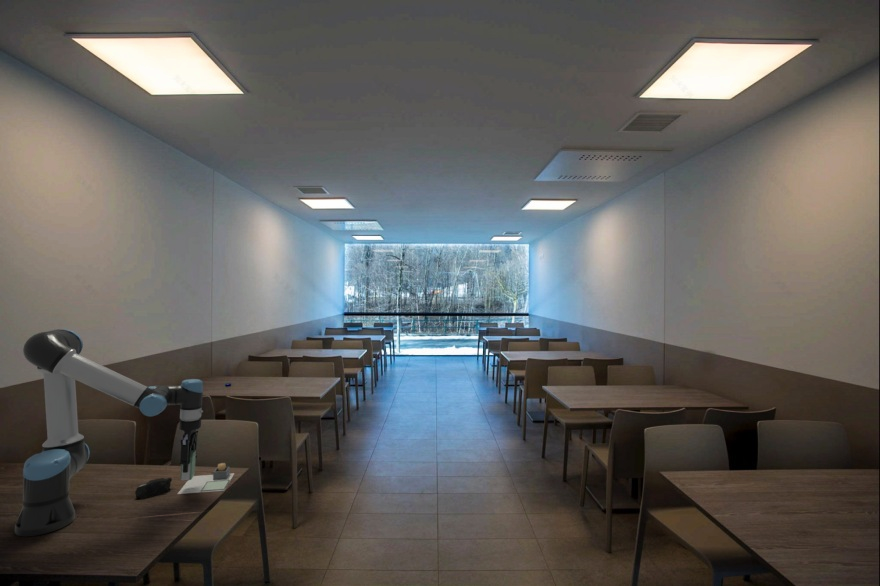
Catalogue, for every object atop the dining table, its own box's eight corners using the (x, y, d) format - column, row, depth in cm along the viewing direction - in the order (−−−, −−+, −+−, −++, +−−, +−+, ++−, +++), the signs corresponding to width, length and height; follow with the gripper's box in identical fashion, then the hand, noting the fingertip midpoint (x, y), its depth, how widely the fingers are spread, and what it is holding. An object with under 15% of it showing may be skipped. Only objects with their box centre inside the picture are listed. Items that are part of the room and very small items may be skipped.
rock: (157, 500, 165) (158, 485, 165) (133, 501, 164) (133, 485, 164) (172, 489, 175) (172, 474, 175) (148, 489, 174) (149, 475, 174)
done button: (224, 472, 185) (224, 465, 185) (216, 473, 184) (216, 466, 184) (226, 469, 188) (226, 462, 188) (218, 470, 187) (218, 463, 187)
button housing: (226, 478, 184) (226, 471, 184) (213, 479, 183) (213, 472, 183) (229, 473, 189) (229, 466, 189) (216, 474, 188) (216, 467, 188)
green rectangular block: (191, 480, 172) (192, 453, 172) (179, 481, 171) (181, 454, 171) (194, 476, 176) (196, 450, 176) (183, 477, 175) (184, 450, 175)
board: (224, 491, 173) (224, 489, 173) (177, 495, 169) (177, 493, 169) (234, 474, 190) (234, 472, 190) (191, 477, 186) (191, 475, 186)
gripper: (194, 424, 167) (190, 486, 166) (207, 413, 183) (204, 468, 183) (172, 425, 165) (169, 487, 165) (187, 413, 182) (184, 469, 181)
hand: (187, 477), depth 174 cm, fingers closed on green rectangular block, 4 cm apart
